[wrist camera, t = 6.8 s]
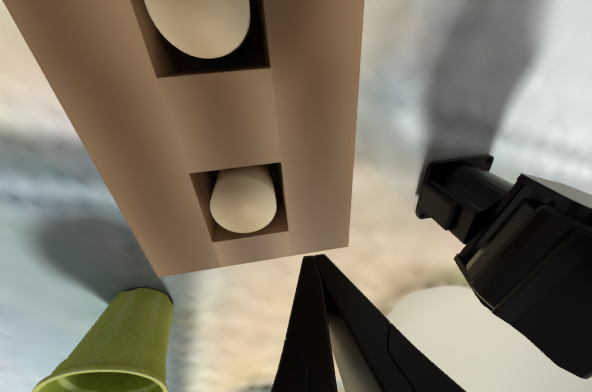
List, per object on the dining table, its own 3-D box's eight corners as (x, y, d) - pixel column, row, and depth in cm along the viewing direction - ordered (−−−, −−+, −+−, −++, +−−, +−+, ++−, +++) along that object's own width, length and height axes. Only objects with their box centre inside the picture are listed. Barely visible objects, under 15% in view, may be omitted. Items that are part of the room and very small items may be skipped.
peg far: (267, 146, 18) (272, 174, 14) (274, 191, 20) (279, 228, 16) (214, 152, 18) (202, 183, 13) (226, 197, 20) (218, 237, 15)
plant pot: (111, 263, 23) (44, 362, 16) (203, 290, 27) (185, 379, 19) (84, 317, 26) (18, 420, 19) (170, 334, 30) (144, 425, 23)
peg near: (243, -33, 13) (239, -75, 8) (255, 54, 15) (256, 54, 11) (166, -29, 12) (121, -72, 8) (189, 59, 14) (163, 62, 10)
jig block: (328, -105, 13) (378, -212, 8) (327, 204, 23) (348, 246, 18) (45, -101, 11) (-124, -225, 6) (180, 225, 22) (158, 277, 17)
